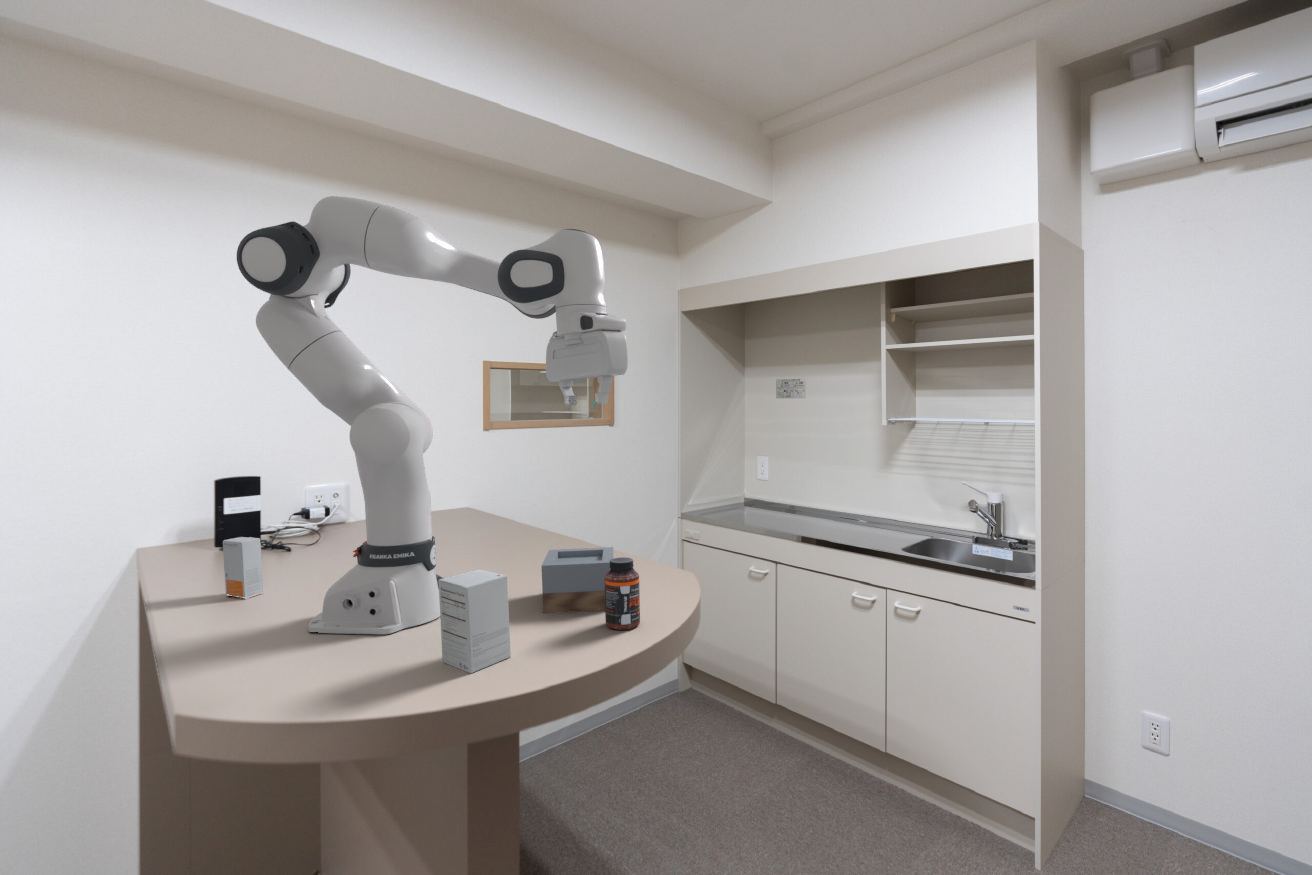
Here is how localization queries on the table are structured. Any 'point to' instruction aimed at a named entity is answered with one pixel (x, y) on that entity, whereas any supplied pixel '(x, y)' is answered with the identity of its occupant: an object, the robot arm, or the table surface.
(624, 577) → the supplement bottle
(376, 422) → the robot arm
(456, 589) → the supplement box
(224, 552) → the skincare box
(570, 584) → the slate grey top slab
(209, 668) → the table surface
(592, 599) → the walnut bottom slab
